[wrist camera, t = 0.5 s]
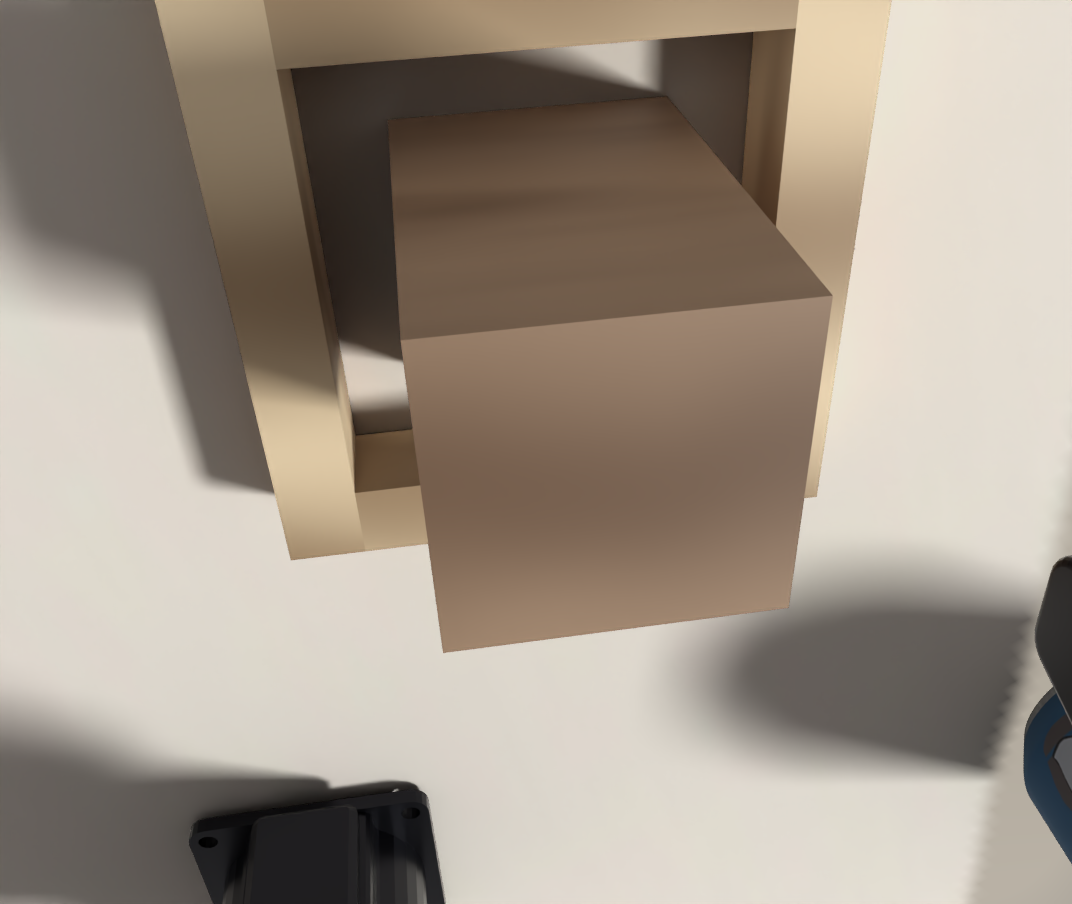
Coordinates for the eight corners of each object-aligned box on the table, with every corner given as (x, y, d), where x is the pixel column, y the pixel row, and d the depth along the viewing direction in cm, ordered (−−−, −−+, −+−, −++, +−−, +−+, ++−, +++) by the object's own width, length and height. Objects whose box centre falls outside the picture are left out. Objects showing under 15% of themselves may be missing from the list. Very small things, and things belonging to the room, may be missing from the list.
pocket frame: (784, 443, 23) (816, 496, 21) (296, 499, 22) (291, 559, 21) (852, -105, 17) (904, -87, 15) (168, -58, 16) (146, -34, 14)
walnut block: (658, 340, 21) (788, 607, 15) (418, 365, 21) (443, 653, 14) (666, 96, 18) (833, 295, 12) (387, 119, 18) (400, 340, 11)
